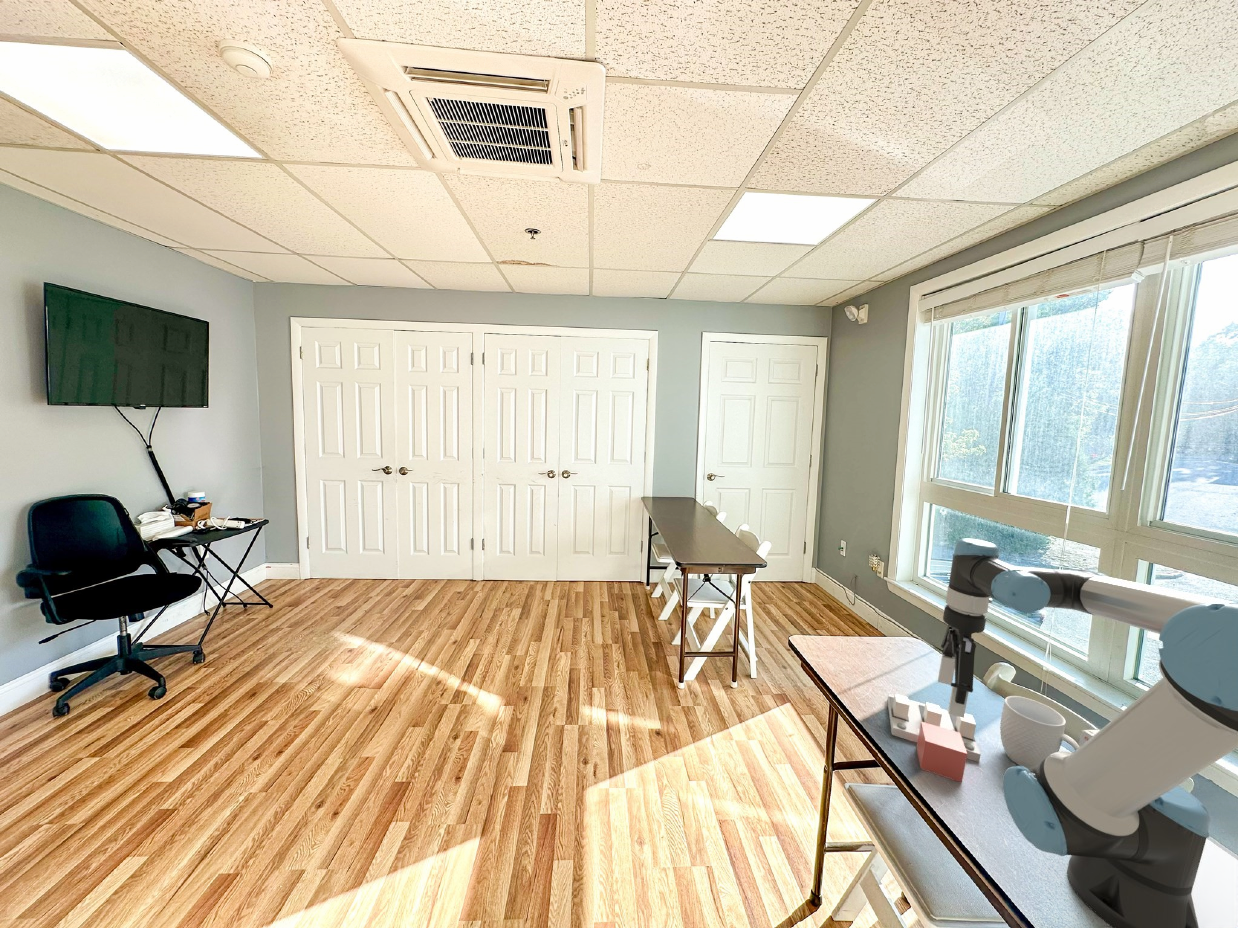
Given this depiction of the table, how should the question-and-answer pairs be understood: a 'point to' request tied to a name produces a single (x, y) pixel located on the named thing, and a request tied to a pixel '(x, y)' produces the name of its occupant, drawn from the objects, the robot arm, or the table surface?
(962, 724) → the toggle
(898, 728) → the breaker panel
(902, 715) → the toggle
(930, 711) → the toggle
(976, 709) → the table surface
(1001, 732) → the mug
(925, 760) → the cap
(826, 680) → the table surface
